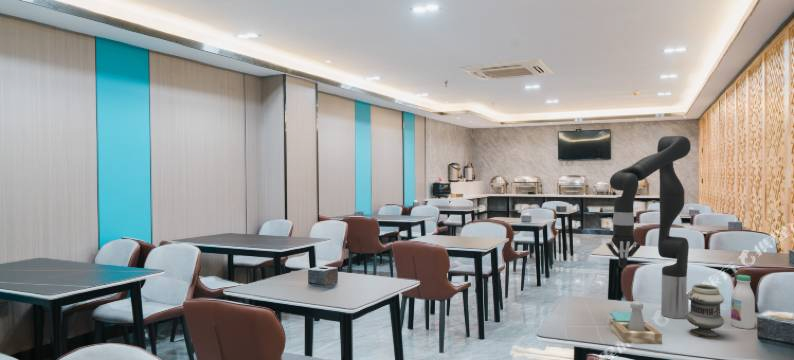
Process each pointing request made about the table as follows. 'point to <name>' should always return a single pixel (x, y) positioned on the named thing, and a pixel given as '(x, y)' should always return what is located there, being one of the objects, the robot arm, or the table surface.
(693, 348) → the table surface
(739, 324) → the milk bottle
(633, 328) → the salt shaker
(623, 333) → the socket block
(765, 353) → the table surface
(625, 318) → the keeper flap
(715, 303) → the apothecary jar
